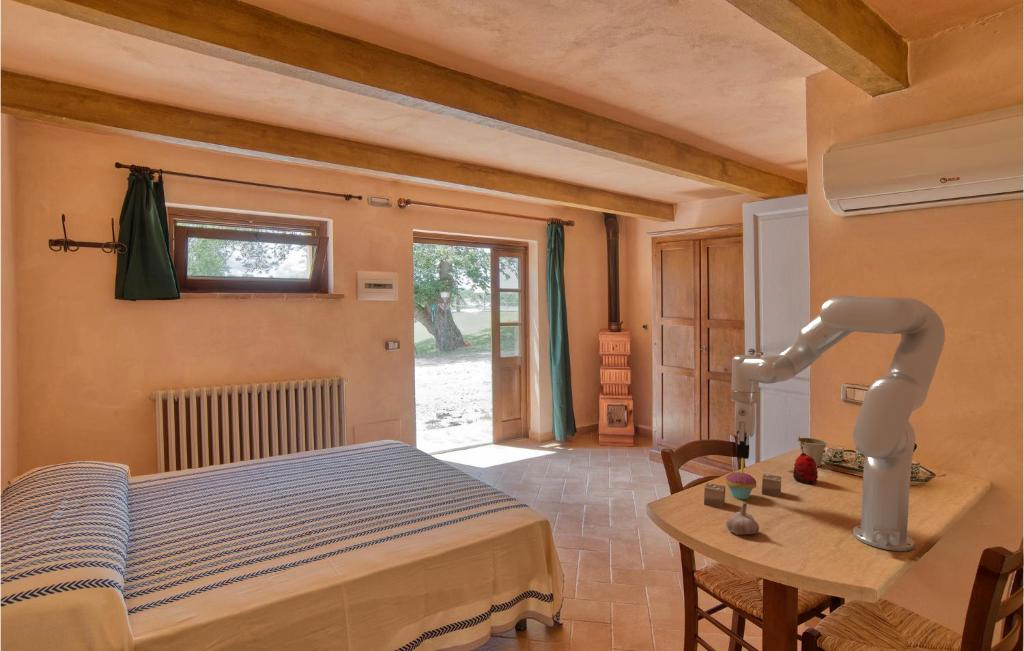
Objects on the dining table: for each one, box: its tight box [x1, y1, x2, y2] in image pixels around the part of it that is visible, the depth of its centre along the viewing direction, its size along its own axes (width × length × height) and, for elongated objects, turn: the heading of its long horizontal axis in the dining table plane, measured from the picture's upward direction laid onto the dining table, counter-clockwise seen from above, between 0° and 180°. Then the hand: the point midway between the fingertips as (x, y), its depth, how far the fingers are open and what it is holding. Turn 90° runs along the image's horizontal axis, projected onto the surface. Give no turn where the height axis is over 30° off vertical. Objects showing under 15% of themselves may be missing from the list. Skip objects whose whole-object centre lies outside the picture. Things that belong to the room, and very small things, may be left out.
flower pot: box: [796, 437, 828, 467], centre depth 195 cm, size 9×9×9 cm
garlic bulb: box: [725, 501, 760, 536], centre depth 137 cm, size 8×7×8 cm
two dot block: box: [761, 473, 782, 498], centre depth 166 cm, size 5×5×5 cm
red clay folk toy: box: [792, 435, 819, 485], centre depth 177 cm, size 8×7×15 cm
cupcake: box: [725, 458, 757, 500], centre depth 162 cm, size 9×8×12 cm
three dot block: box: [703, 482, 726, 509], centre depth 156 cm, size 5×5×5 cm
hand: (742, 457), depth 162 cm, fingers closed
